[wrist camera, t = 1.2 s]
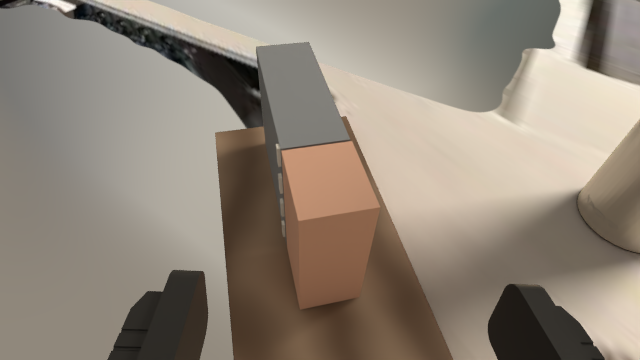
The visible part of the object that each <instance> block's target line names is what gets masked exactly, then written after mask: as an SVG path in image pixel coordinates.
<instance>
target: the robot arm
mask: <svg viewBox="0 0 640 360" xmlns="http://www.w3.org/2000/svg"><path fill="white" fill-rule="evenodd" d="M577 203H578V209H579V211H580V213H581V215H582V217H583V218H584V220H585V221H586V223H587V224H588V225H589V226H590V227H591V228H592V229H593V230H594V231H595V232H596V233H598V234H599V235H600V236H601V237H603V238H604V239H606V240H608V241H609V242H611V243H613V244H614V245H617V246H619V247H621V248H623V249H626V250H629V251H633V252H636V253H640V119H639V121H638V122H637V123H636V124H635V125H634V127H633V128H632V129H631V130H630V132H629V133H628V134H627V135H626V137H625V138H624V139H623V140H622V141H621V143H620V144H619V145H618V146H617V148H616V149H615V150H614V151H613V153H612V154H611V155H610V156H609V157H608V159H607V160H606V161H605V162H604V164H603V165H602V166H601V167H600V168H599V170H598V171H597V172H596V173H595V175H594V176H593V177H592V178H591V179H590V181H589V182H588V183H587V184H586V186H585V187H584V188H583V189H582V191H581V192H580V194H579V196H578V201H577ZM207 321H208V306H207V295H206V285H205V276H204V272H203V271H184V270H173V271H172V272H171V273H170V275H169V278H168V280H167V283H166V286H165V288H164V291H163V292H156V291H154V292H153V291H148V292H146V293H145V295H144V296H143V297H142V298H141V299H140V300H139V301H138V302H137V303H136V304H135V305H134V306H133V307H132V308H131V309H130V312H129V314H128V316H127V318H126V320H125V323H124V325H123V327H122V331H121V333H120V334H119V336H118V338H117V340H116V342H115V344H114V349H113V351H111V353H110V355H109V358H108V360H199V359H200V355H201V351H202V347H203V343H204V339H205V335H206V329H207ZM488 335H489V340H490V343H491V345H492V347H493V350H494V352H495V354H496V356H497V359H498V360H605V358H604V357H603V356H602V354H601V353H600V351H599V350H598V348H597V347H596V346H594V345H593V341H592V340H591V338H590V337H589V336H588V334H587V333H586V331H585V330H584V329H583V327H582V326H581V324H580V323H579V322H578V321H577V320H576V319H574V318H573V317H572V316H571V315H570V314H569V313H568V312H567V311H565V310H564V309H563V308H562V307H561V306H555V304H554V303H553V301H552V300H551V298H550V297H549V295H548V294H547V292H546V291H545V289H544V288H542V287H541V286H539V285H524V284H509V285H507V286H506V288H505V289H504V291H503V293H502V295H501V297H500V299H499V301H498V303H497V305H496V307H495V309H494V311H493V313H492V315H491V317H490V319H489V323H488Z"/></svg>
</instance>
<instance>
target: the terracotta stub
mask: <svg viewBox="0 0 640 360" xmlns="http://www.w3.org/2000/svg"><path fill="white" fill-rule="evenodd" d="M281 153H282V170H283V187H284V204H285V221H286V238H287V250H288V254H289V259H290V264H291V269H292V274H293V279H294V283H295V288H296V293H297V298H298V303H299V308H300V310H301V309H306V308H311V307H315V306H320V305H325V304H330V303H334V302H339V301H344V300H348V299H353V298H358V297H359V296H360V292H361V288H362V284H363V279H364V275H365V271H366V266H367V262H368V258H369V254H370V249H371V245H372V241H373V237H374V232H375V228H376V224H377V219H378V215H379V211H380V205H379V203H378V200H377V198H376V196H375V193H374V191H373V189H372V186H371V184H370V182H369V179H368V177H367V175H366V172H365V170H364V168H363V165H362V163H361V161H360V158H359V156H358V154H357V151H356V149H355V146H354V144H353V142H352V141H348V142H341V143H334V144H326V145H319V146H312V147H305V148H297V149H290V150H283V151H281Z"/></svg>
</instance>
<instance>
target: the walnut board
mask: <svg viewBox="0 0 640 360" xmlns="http://www.w3.org/2000/svg"><path fill="white" fill-rule="evenodd" d="M341 119H342V121H343V123H344V126H345V128H346V130H347V133H348V135H349V138H350V141H352V142H353V144H354V146H355V149H356V151H357V154H358V156H359V158H360V161H361V163H362V165H363V168H364V170H365V172H366V175H367V177H368V179H369V182H370V184H371V186H372V189H373V191H374V193H375V196H376V198H377V200H378V203H379V205H380V211H379V215H378V219H377V224H376V228H375V232H374V237H373V241H372V245H371V249H370V254H369V258H368V262H367V266H366V271H365V275H364V279H363V284H362V288H361V292H360V296H359V297H358V298H353V299H348V300H344V301H339V302H334V303H330V304H325V305H320V306H315V307H311V308H306V309H301V310H300V308H299V303H298V298H297V293H296V288H295V283H294V279H293V274H292V269H291V264H290V259H289V254H288V250H287V245H286V241H285V237H283V234H282V222H281V217H280V212H279V207H278V202H277V197H276V192H275V188H274V183H273V178H272V173H271V168H270V163H269V159H268V154H267V149H266V144H265V134H264V127H257V128H249V129H241V130H233V131H225V132H217V133H215V137H216V149H217V161H218V173H219V185H220V197H221V209H222V221H223V234H224V246H225V258H226V269H227V282H228V295H229V307H230V317H231V318H230V319H231V331H232V343H233V355H234V360H453V358H452V356H451V353H450V351H449V349H448V347H447V344H446V342H445V340H444V338H443V335H442V333H441V331H440V329H439V326H438V324H437V322H436V319H435V317H434V315H433V313H432V310H431V308H430V306H429V304H428V301H427V299H426V297H425V294H424V292H423V290H422V288H421V285H420V283H419V281H418V279H417V276H416V274H415V272H414V269H413V267H412V265H411V263H410V260H409V258H408V256H407V254H406V251H405V249H404V247H403V244H402V242H401V240H400V238H399V235H398V233H397V231H396V229H395V226H394V224H393V222H392V219H391V217H390V215H389V213H388V210H387V208H386V206H385V204H384V201H383V199H382V197H381V195H380V192H379V190H378V188H377V185H376V183H375V181H374V179H373V176H372V174H371V172H370V170H369V167H368V165H367V163H366V160H365V158H364V156H363V154H362V151H361V149H360V147H359V145H358V142H357V140H356V138H355V135H354V133H353V131H352V129H351V126H350V124H349V122H348V120H347V117H346V116H345V117H341Z"/></svg>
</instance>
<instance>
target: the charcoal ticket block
mask: <svg viewBox="0 0 640 360" xmlns="http://www.w3.org/2000/svg"><path fill="white" fill-rule="evenodd" d="M256 53H257V64H258V74H259V84H260V94H261V104H262V114H263V124H264V134H265V144H266V149H267V154H268V159H269V163H270V168H271V173H272V178H273V183H274V188H275V192H276V197H277V202H278V207H279V212H280V217H281V222H282V234H283V237H285V241H286V245H287V238H286V221H285V204H284V187H283V170H282V153H281V151H283V150H290V149H297V148H305V147H312V146H319V145H326V144H334V143H341V142H348V141H350V138H349V135H348V133H347V130H346V128H345V126H344V123H343V121H342V119H341V116H340V114H339V112H338V109H337V107H336V105H335V102H334V100H333V98H332V95H331V93H330V90H329V88H328V86H327V83H326V81H325V79H324V76H323V74H322V72H321V69H320V67H319V65H318V62H317V60H316V58H315V55H314V53H313V51H312V48H311V46H310V43H309V42H304V43H293V44H281V45H270V46H259V47H256Z"/></svg>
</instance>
